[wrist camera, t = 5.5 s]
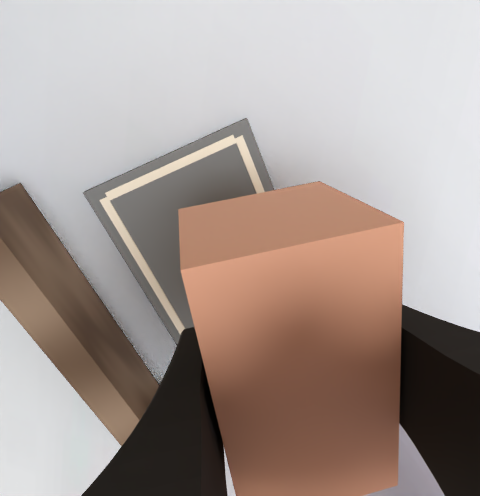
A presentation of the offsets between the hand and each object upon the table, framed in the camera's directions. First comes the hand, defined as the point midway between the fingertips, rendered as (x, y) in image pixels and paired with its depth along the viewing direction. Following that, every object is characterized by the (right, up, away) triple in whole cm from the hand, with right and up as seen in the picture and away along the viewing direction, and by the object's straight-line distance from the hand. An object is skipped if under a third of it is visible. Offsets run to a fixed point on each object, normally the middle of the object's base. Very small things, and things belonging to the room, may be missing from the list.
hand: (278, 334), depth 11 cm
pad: (-3, +3, +8) cm, 9 cm away
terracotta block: (0, +1, +1) cm, 2 cm away
